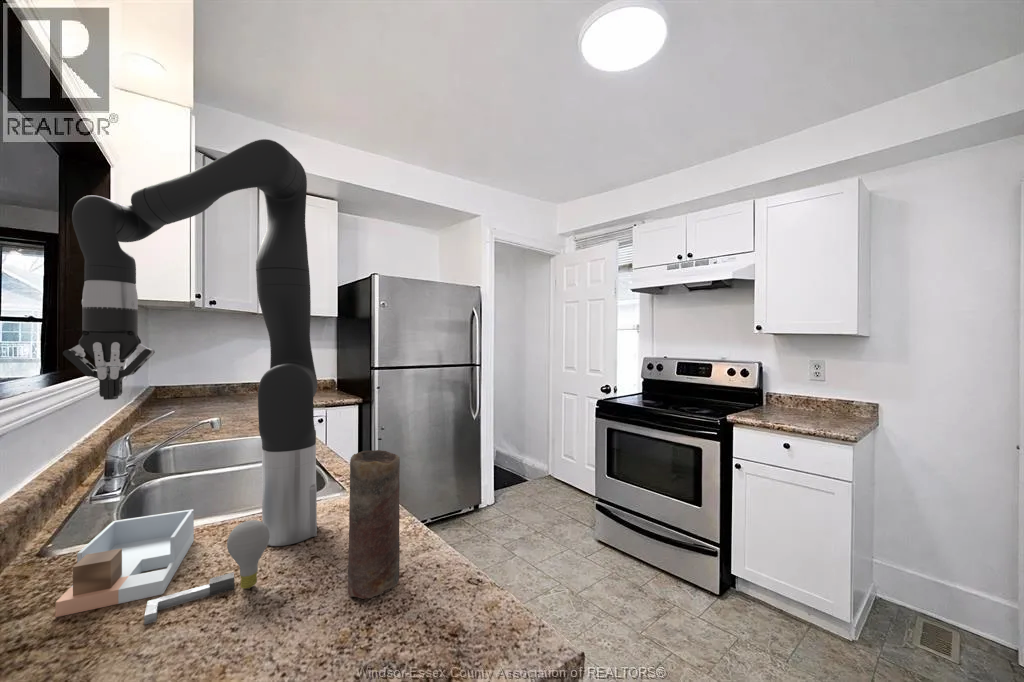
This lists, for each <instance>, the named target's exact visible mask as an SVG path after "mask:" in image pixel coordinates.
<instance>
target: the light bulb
mask: <svg viewBox="0 0 1024 682" xmlns="http://www.w3.org/2000/svg"><path fill="white" fill-rule="evenodd" d="M269 538H270V535H269V530H268V527H267V526H266V525H265V524H264V523H263V522H262V520H258V519H250V520H249V519H248V520H245V521H243V522H240V523H239V524H238V525H236V526H234V528H233V529H232V530H231V532H230V533H229V535H228V537H227V542H226V548H227V551H228V554H229V555H230V557H231V558H232V559H233V560H234V561H235V562H236V563H237V565H238V567H239V576H240V588H241V589H246V590H249V589H251V588H253V586H255V585H256V584H257V582H258V576H257V574H258V571H259V569H258V567H259V566H258V565H259V561H260V559H261V557H262V555H263V554H264V552H265V551H266V549H267V547H268V546H269V545H268V542H269ZM236 563H235V564H236Z"/></svg>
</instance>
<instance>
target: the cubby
mask: <svg viewBox="0 0 1024 682" xmlns="http://www.w3.org/2000/svg"><path fill="white" fill-rule="evenodd" d="M194 511H195V510H194V509H193V508H191V509H186V510H180V511H179V510H178V511H171V512H165V513H159V514H151V515H145V516H138V517H131V518H130V517H129V518H125V519H118V520H112V522H111V523H109V524H108V525H107V526H106V527H105V528H103V530H101V531H100V532H99V533H98V534H97V535H96V536H94V538H93V539H92V540H90V541H89V542H88V543H87V544H86V545H84V547H82V548H81V549H80V551H78V552H77V553H76V564H77V563H78V562H79V561H80V560H81V559H82V558H83V557H84V556H85V555H86V554H92V553H98V552H104V551H110V550H116V549H121V548H122V575H121V577H120V578H119V579H118V580H117V581H116V583H115V584H114V585H113V586H112V588H111V589H106V590H101V591H96V592H91V593H86V594H81V595H76V596H73V584H72V585H71V586H70V587H69V588H68V589H67V590H65V592H64V593H63V594H62V595H61V596H60V597H59V598H58V599H57V600H56V601H55V614H54V615H55V618H58V617H64V616H68V615H72V614H77V613H81V612H86V611H91V610H96V609H100V608H105V607H110V606H114V605H119V604H124V603H127V602H129V603H130V602H132V601H137V600H141V599H146V598H150V597H151V598H152V597H157V596H161V595H163V594H164V593H165V591H166V589H167V588H168V587H169V584H170V582H171V581H172V579H173V578H174V576H175V574H176V572H177V571H178V569H179V567H180V565H181V564H182V562H183V560H184V559H185V557H186V555H187V553H188V551H189V550H190V549H191V547H192V544H193V543H194V541H195V539H194V537H195V535H194V533H195V532H194V531H195V529H194V528H195V524H194V523H195V522H194V521H195V520H194V519H195V518H194V517H195V516H194V515H195V514H194Z"/></svg>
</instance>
